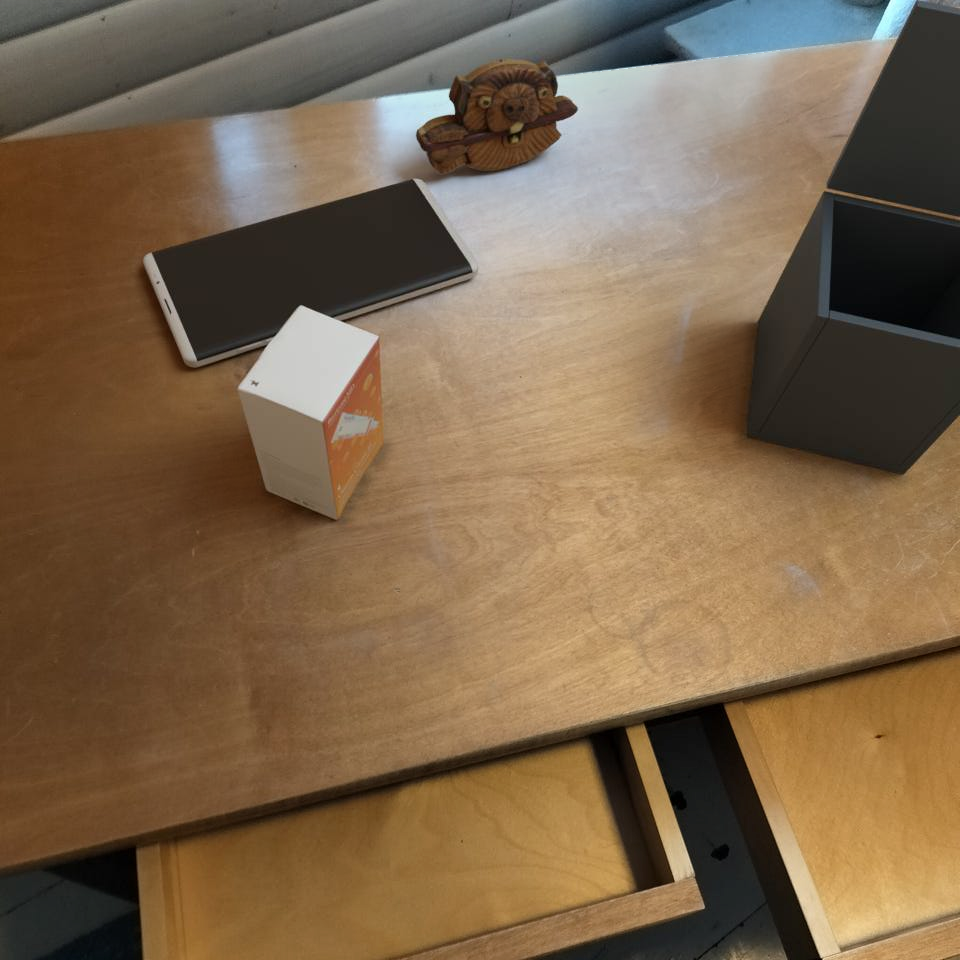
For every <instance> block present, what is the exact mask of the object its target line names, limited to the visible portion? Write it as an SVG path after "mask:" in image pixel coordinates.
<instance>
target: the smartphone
mask: <svg viewBox="0 0 960 960" xmlns="http://www.w3.org/2000/svg"><path fill="white" fill-rule="evenodd" d="M142 263H143V267H144V268H145V271H146V274H147V276H148V278H149V281H150V283H151V286H152V288H153V290H154V293H155V295H156V297H157V300H158V303H159V305H160V307H161V310H162V313H163V315H164V317H165V320H166V322H167V324H168V326H169V329H170V331H171V334H172V336H173V338H174V341H175V344H176V346H177V348H178V350H179V353H180V355H181V358H182V360H183V362H184V364H185V365H186V366H187V367H190V368H200V367H204V366H206V365H209V364H212V363H215V362H219V361H222V360H224V359H228V358H231V357H234V356H238V355H240V354H244V353H246V352H249V351H252V350H255V349H258V348H261V347H264V346H267V345H268V344H269V343H270V341H271V340H272V339H273V338H274V337H275V336H276V335H277V333H278V332H279V331H280V329H281V328H282V327H283V326H284V324H285V323H286V322H287V320H288V319H289V318H290V317H291V315H292V314H293V313H294V311H295V310H296V309H297V308H298V307H299V306H300V305H301V306H304V307H306V308H309V309H311V310H314V311H316V312H319V313H321V314H324V315H326V316H328V317H331V318H333V319H336V320H339V321H341V322H343V321H345V320H348V319H351V318H354V317H357V316H360V315H363V314H366V313H370V312H372V311H375V310H379V309H381V308H384V307H387V306H392V305H394V304H397V303H400V302H404V301H406V300H409V299H412V298H415V297H419V296H422V295H425V294H427V293H430V292H434V291H437V290H440V289H443V288H446V287H450V286H452V285H455V284H458V283H462V282H465V281H467V280H471V279H473V278H475V277H477V276H478V274H479V267H480V266H479V262H478V260H477V259H476V257H475V256H474V254H473V253H472V251H471V250H470V248H469V247H468V246H467V244H466V243H465V241H464V240H463V238H462V236H461V235H460V234H459V232H458V230H457V228H455V226H454V225H453V223H452V222H451V220H450V219H449V217H448V216H447V214H446V213H445V211H444V210H443V208H442V207H441V206H440V204H439V203H438V201H437V200H436V198H435V197H434V195H433V193H432V192H431V191H430V189H429V188H428V186H427V185H426V183H425V181H423V180H422V179H420V178H410V179H407V180H403V181H400V182H396V183H393V184H389V185H386V186H382V187H378V188H376V189H372V190H368V191H364V192H361V193H358V194H357V193H356V194H354V195H350V196H346V197H342V198H340V199H336V200H333V201H329V202H325V203H322V204H318V205H313V206H311V207H307V208H304V209H300V210H296V211H294V212H290V213H286V214H283V215H279V216H276V217H272V218H268V219H264V220H262V221H258V222H254V223H251V224H247V225H244V226H240V227H237V228H233V229H229V230H226V231H223V232H219V233H215V234H211V235H208V236H205V237H201V238H198V239H194V240H190V241H187V242H184V243H180V244H176V245H173V246H169V247H166V248H162V249H158V250H155V251H152V252H149V253H147V254H146V255H145V256H144V257H143V260H142Z"/></svg>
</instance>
